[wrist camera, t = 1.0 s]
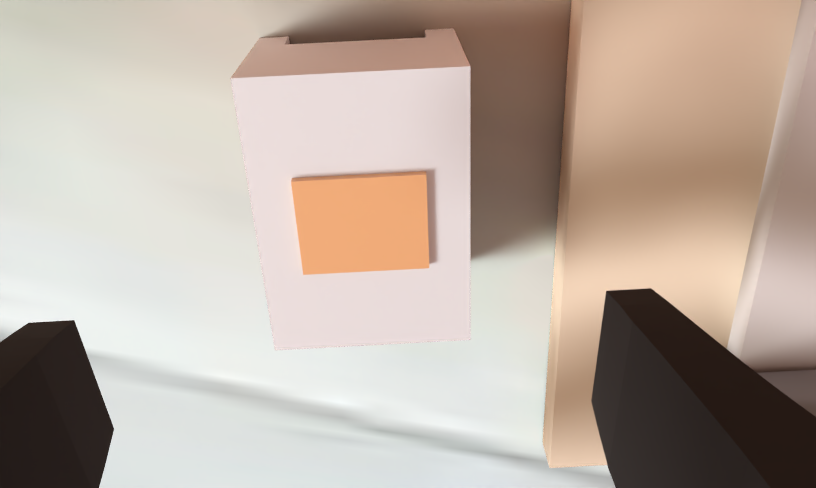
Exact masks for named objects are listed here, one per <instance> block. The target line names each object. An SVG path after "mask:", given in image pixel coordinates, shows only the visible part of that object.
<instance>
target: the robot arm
mask: <svg viewBox="0 0 816 488" xmlns="http://www.w3.org/2000/svg"><path fill="white" fill-rule="evenodd" d="M591 402H592V406H593V411H594V415H595V419H596V423H597V427H598V431H599V435H600V439H601V442H602V446H603V450H604V454H605V457H606V461H607V465H608V468H609V471H610V473H611V476H612V479H613V481H614V484H615V487H616V488H816V416H814V415H813V414H811V413H810V412H809V411H807V410H806V409H804V408H803V407H802V406H800V405H799V404H798V403H796V402H795V401H794V400H792V399H791V398H790V397H788V396H787V395H785V394H784V393H783V392H781V391H780V390H779V389H777V388H776V387H775V386H773V385H772V384H771V383H769V382H768V381H767V380H766V379H764V378H763V377H762V376H760V375H759V374H758V373H757V372H755V371H754V370H753V369H751V368H750V367H749V366H747V365H746V364H745V363H744V362H742V361H741V360H740V359H739V358H737V357H736V356H735V355H734V354H732V353H731V352H730V351H729V350H727V349H726V348H725V347H724V346H722V345H721V344H720V343H719V342H717V341H716V340H715V339H714V338H712V337H711V336H710V335H709V334H707V333H706V332H705V331H704V330H703V329H701V328H700V327H699V326H698V325H696V324H695V323H694V322H693V321H692V320H690V319H689V318H688V317H687V316H685V315H684V314H683V313H682V312H680V311H679V310H678V309H677V308H676V307H674V306H673V305H672V304H671V303H669V302H668V301H667V300H666V299H664V298H663V297H662V296H660V295H659V294H658V293H656V292H655V291H654V290H653V289H651V288H647V289H629V290H611V291H606V296H605V303H604V311H603V318H602V325H601V333H600V340H599V347H598V355H597V362H596V369H595V377H594V384H593V392H592V399H591ZM113 431H114V428H113V425H112V422H111V419H110V417H109V414H108V411H107V409H106V406H105V403H104V400H103V398H102V395H101V392H100V390H99V387H98V384H97V381H96V379H95V376H94V373H93V370H92V368H91V365H90V362H89V360H88V357H87V354H86V351H85V349H84V346H83V343H82V341H81V338H80V335H79V332H78V330H77V327H76V324H75V321H74V320H72V321H54V322H36V323H28V324H26V325H25V326H23V327H22V328H20V329H19V330H17V331H16V332H14V333H13V334H11V335H10V336H8V337H7V338H6V339H4V340H3V341H1V342H0V488H99V485H100V482H101V478H102V474H103V471H104V467H105V463H106V459H107V455H108V451H109V447H110V443H111V439H112V435H113Z"/></svg>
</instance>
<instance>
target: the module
mask: <svg viewBox="0 0 816 488" xmlns="http://www.w3.org/2000/svg"><path fill="white" fill-rule="evenodd" d="M230 79H231V85H232V91H233V97H234V103H235V109H236V115H237V121H238V127H239V134H240V140H241V146H242V152H243V158H244V164H245V170H246V176H247V182H248V189H249V195H250V201H251V207H252V213H253V219H254V225H255V231H256V237H257V243H258V250H259V256H260V262H261V268H262V274H263V280H264V286H265V292H266V298H267V304H268V311H269V317H270V323H271V329H272V335H273V341H274V347H275V350H289V349H308V348H326V347H345V346H364V345H383V344H401V343H420V342H439V341H457V340H470V64H469V62H468V60H467V57H466V55H465V53H464V51H463V48H462V46H461V44H460V41H459V39H458V37H457V35H456V32H455V30H454V28H449V29H429V30H425V37H424V38H404V39H384V40H364V41H344V42H324V43H304V44H290V42H289V36H288V37H268V38H259V40H258V41H257V42H256V44H255V45H254V46H253V48H252V49H251V51H250V52H249V53H248V55H247V56H246V58H245V59H244V60H243V62H242V63H241V64H240V66H239V67H238V69H237V70H236V71H235V73H234V74H233V76H232V77H231V78H230Z"/></svg>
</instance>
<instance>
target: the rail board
mask: <svg viewBox="0 0 816 488" xmlns="http://www.w3.org/2000/svg"><path fill="white" fill-rule="evenodd" d="M647 288H651V289H653V290H654V291H655V292H656V293H658V294H659V295H660V296H662V297H663V298H664V299H666V300H667V301H668V302H669V303H671V304H672V305H673V306H674V307H676V308H677V309H678V310H679V311H680V312H682V313H683V314H684V315H685V316H687V317H688V318H689V319H690V320H692V321H693V322H694V323H695V324H696V325H698V326H699V327H700V328H701V329H703V330H704V331H705V332H706V333H707V334H709V335H710V336H711V337H712V338H714V339H715V340H716V341H717V342H719V343H720V344H721V345H722V346H724V347H725V348H726V349H727V350H729V351H730V352H731V353H732V354H734V355H735V356H736V357H737V358H739V359H740V360H741V361H742V362H744V363H745V364H746V365H747V366H749V367H750V368H751V369H753V370H754V371H755V372H757V373H758V374H759V375H760V376H762V377H763V378H764V379H766V380H767V381H768V382H769V383H771V384H772V385H773V386H775V387H776V388H777V389H779V390H780V391H781V392H783V393H784V394H785V395H787V396H788V397H790V398H791V399H792V400H794V401H795V402H796V403H798V404H799V405H800V406H802V407H803V408H804V409H806V410H807V411H809V412H810V413H811V414H813V415H814V416H816V0H572V1H571V17H570V32H569V47H568V62H567V78H566V93H565V108H564V124H563V139H562V154H561V169H560V185H559V200H558V215H557V230H556V246H555V261H554V276H553V291H552V307H551V322H550V337H549V352H548V368H547V383H546V398H545V414H544V429H543V446H544V449H545V453H546V457H547V460H548V464H549V467H550V468H558V467H576V466H594V465H607V461H606V457H605V454H604V450H603V446H602V442H601V439H600V435H599V431H598V427H597V423H596V419H595V415H594V411H593V406H592V402H591V399H592V392H593V384H594V377H595V369H596V362H597V355H598V347H599V340H600V333H601V325H602V318H603V311H604V303H605V296H606V291H611V290H629V289H647Z"/></svg>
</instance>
